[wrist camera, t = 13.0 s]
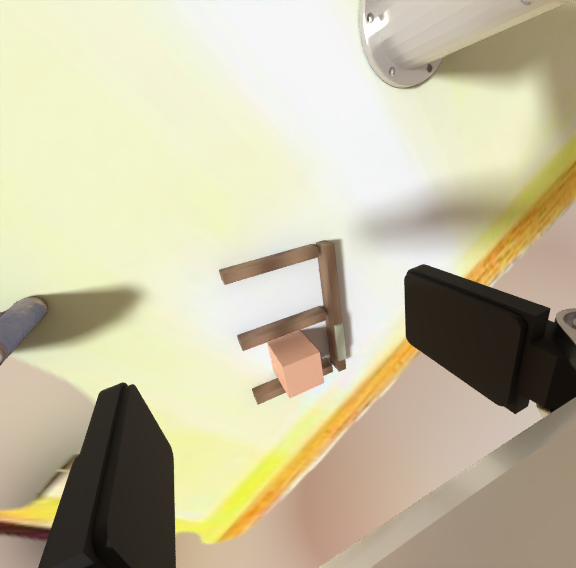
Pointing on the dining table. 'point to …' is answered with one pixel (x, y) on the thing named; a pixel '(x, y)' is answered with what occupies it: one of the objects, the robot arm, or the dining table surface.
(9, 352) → the dark blue pouch
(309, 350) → the block
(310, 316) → the comb rack
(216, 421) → the dining table surface
